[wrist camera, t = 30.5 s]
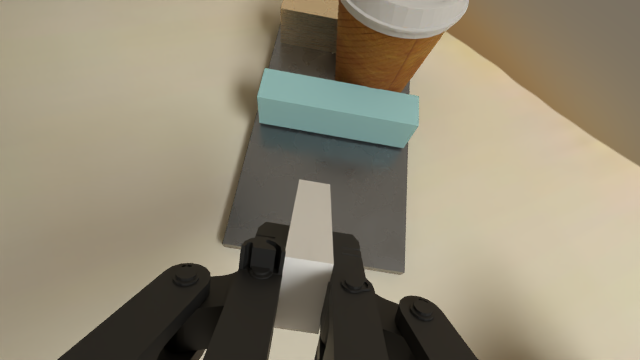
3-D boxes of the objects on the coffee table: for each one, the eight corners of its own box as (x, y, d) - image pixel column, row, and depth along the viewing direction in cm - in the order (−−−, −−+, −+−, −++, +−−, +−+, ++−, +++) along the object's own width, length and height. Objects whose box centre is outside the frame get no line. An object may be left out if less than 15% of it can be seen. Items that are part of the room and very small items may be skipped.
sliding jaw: (403, 148, 30) (418, 125, 27) (259, 122, 30) (257, 96, 26) (404, 120, 32) (418, 96, 28) (266, 95, 31) (264, 67, 28)
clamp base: (400, 274, 27) (424, 262, 22) (224, 246, 26) (213, 228, 22) (407, 46, 37) (425, 6, 33) (282, 22, 37) (283, -22, 32)
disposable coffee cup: (330, 40, 35) (352, -92, 24) (418, 64, 35) (480, -58, 24) (307, 111, 31) (322, -10, 20) (407, 138, 31) (476, 31, 20)
